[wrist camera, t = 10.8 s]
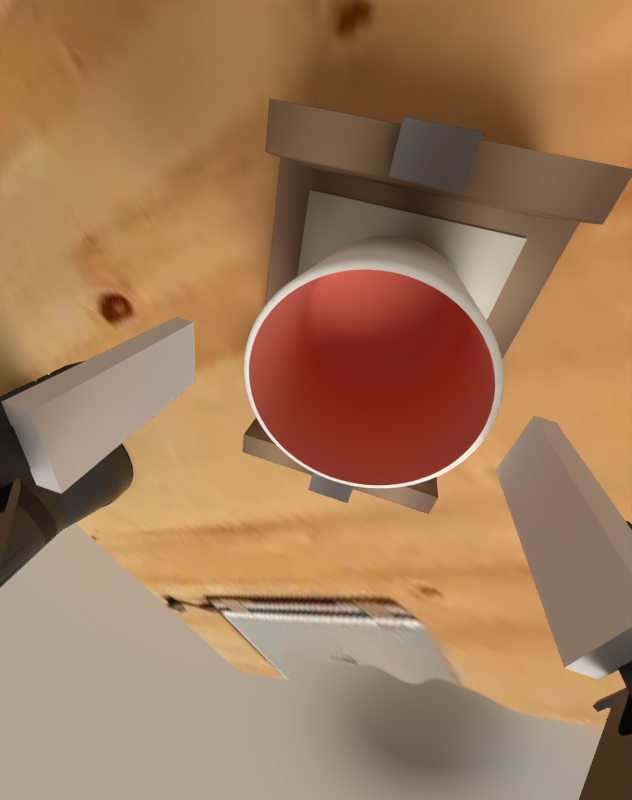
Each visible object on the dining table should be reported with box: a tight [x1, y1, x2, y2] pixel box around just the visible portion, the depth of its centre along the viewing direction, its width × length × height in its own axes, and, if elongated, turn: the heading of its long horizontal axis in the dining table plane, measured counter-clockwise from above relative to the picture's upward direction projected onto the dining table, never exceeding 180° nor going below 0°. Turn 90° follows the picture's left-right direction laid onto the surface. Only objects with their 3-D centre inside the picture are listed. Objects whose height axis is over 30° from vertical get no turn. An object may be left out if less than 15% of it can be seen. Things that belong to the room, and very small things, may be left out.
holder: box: [243, 99, 632, 514], centre depth 18 cm, size 16×17×10 cm
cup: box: [244, 236, 504, 488], centre depth 17 cm, size 10×10×10 cm
